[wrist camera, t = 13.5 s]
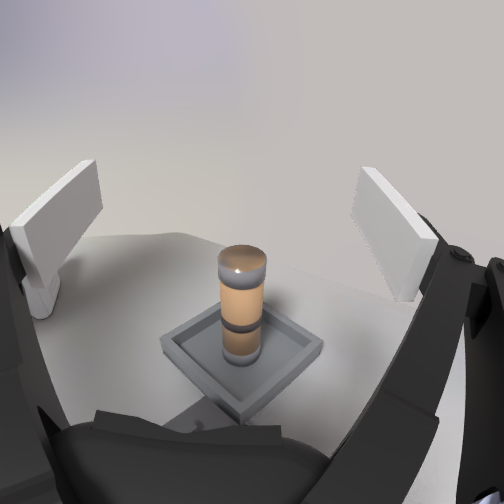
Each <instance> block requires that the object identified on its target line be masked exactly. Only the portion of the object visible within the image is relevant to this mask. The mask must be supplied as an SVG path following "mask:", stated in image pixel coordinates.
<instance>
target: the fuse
mask: <svg viewBox="0 0 504 504" xmlns="http://www.w3.org/2000/svg"><path fill="white" fill-rule="evenodd" d="M266 261H267V258H266V255H265V253H264V252H263V251H262V250H260V249H258V248H256V247H253V246H249V245H234V246H230V247H227V248H225V249H224V250H222V251H221V252H220V253H219V255H218V276H219V279H220V299H221V322H222V354H223V357H224V359H225V360H226V361H227V362H228V363H229V364H231V365H233V366H237V367H246V366H249V365H252V364H253V363H255V362H256V361H257V360H258V358H259V356H260V347H261V340H260V335H261V323H262V313H263V311H262V306H263V291H264V280H265V276H266Z"/></svg>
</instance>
